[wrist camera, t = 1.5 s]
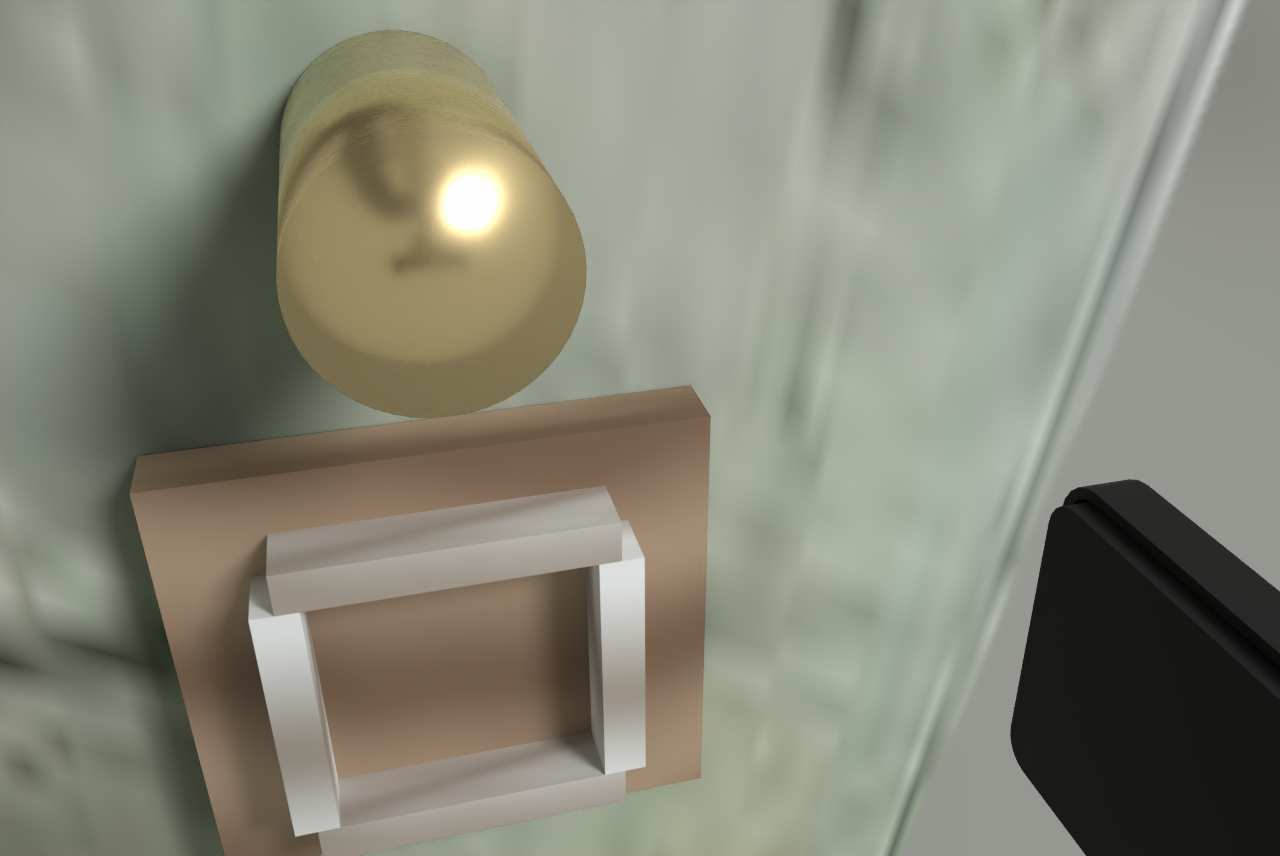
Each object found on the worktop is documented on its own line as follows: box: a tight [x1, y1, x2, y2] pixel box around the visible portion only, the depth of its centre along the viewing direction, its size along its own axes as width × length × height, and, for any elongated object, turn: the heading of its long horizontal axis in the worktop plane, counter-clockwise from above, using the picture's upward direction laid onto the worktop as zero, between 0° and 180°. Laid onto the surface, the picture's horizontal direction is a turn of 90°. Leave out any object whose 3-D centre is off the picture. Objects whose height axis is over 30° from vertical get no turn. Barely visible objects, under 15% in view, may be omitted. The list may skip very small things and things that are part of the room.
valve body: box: [276, 30, 586, 418], centre depth 20 cm, size 4×4×7 cm
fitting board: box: [129, 386, 711, 856], centre depth 27 cm, size 11×12×3 cm
